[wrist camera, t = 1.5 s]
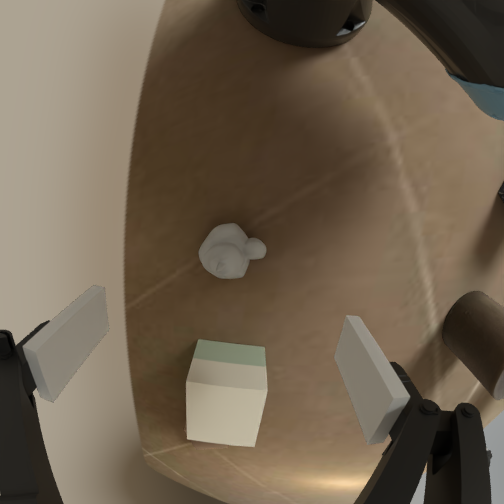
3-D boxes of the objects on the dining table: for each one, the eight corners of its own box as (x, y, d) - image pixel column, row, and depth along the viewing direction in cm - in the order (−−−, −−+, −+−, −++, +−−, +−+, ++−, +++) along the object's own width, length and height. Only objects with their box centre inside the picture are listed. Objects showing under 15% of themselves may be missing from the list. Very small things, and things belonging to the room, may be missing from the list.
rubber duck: (198, 224, 30) (180, 243, 22) (261, 215, 30) (264, 230, 22) (207, 273, 32) (194, 305, 24) (268, 265, 31) (273, 295, 24)
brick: (188, 410, 37) (183, 429, 34) (220, 407, 37) (218, 427, 33) (199, 430, 39) (195, 449, 35) (230, 428, 39) (228, 447, 35)
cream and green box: (198, 338, 34) (186, 381, 26) (264, 346, 34) (267, 390, 26) (196, 396, 36) (187, 439, 29) (253, 403, 37) (254, 446, 29)
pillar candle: (436, 315, 33) (499, 378, 19) (483, 277, 32) (552, 322, 17) (446, 358, 36) (495, 418, 21) (489, 323, 34) (544, 371, 20)
